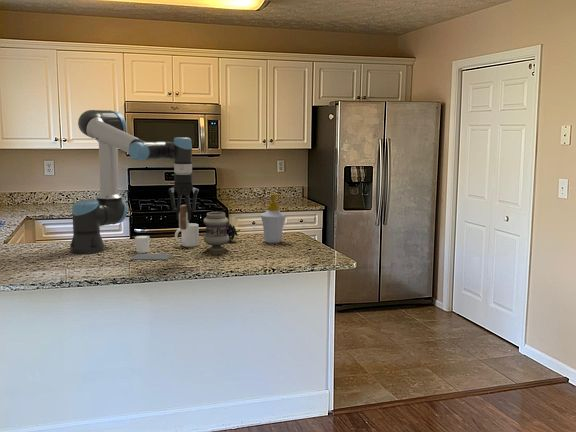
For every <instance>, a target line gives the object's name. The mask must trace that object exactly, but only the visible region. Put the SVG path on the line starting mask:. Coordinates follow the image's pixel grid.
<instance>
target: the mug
mask: <svg viewBox="0 0 576 432" xmlns="http://www.w3.org/2000/svg"><path fill="white" fill-rule="evenodd" d="M180 232H181V236H180V237H181V240H180V239H179V238H178V235H179V233H180ZM199 235H200V234H199V224H198V223H192V222H191V223H190V222H189V227H188V228H186V229H185V230H184V229H180V228H179V227H178V229H177V230H176V231H175V232H174V239H175V241H176V242H177V243H179V244H181V246H182V247H187V248H193V247H198V246H199V245H200V241H199V239H200V237H199Z"/></svg>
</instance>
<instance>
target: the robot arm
mask: <svg viewBox="0 0 576 432" xmlns="http://www.w3.org/2000/svg"><path fill="white" fill-rule="evenodd" d="M77 126H78V129H79V131H80V132H81V133H82V134H83V135H85V136H87V137H88V138H90V139H95V140H96V141H97V143H98V162H99V163H98V166H99V167H98V168H99V172H98V173H99V194H98V195H97V196H96V199H95V198H94V199H93V198H88V199H82V200H78V201H76V202H74V203H73V205H72V206H71V207H72V208H71V215H72V231H73V232H72V239H71V242H70V246H69V252H70V253H72V254H81V255H84V254H86V255H87V254H94V253H95V254H96V253H100V252H103V251H105V243H104V241H103V239H102V235H101V231H100V230H101V228H100V227H102V226H109V225H116V224H118V223H119V224H120V223H122V222H123V221H124V220H125V219H126V218H127V214H128V206H127V204H126V201H125V200H124V199H123V197H122V195H121V194H120V192H119V187H120V186H119V150H121V151H123V152H125V153H127V154H129V157H131V159H132V160H134V161H140V162H141V161H151V160H153V161H154V160H173V167H174V168H173V170H174V177H173V178H174V184H173V186H172V187H171V188H168V189H167V192H168V193H169V198H170V204H171V211H172V212H174V213H176V220H177V221H178V229H179V228H180V206H181V205H182V197H183V196H184V197H185V203H186V204H185V205H187V213H186V228H188V227H189V223H190V221H191V220H192V213H193V212H195V211H196V207H197V206H196V205H197V197H198V194H199V191H200V190H199V188H196V187H194V185H193V174H192V173H193V164H192V163H193V153H192V152H193V145H192V139H191V138H190V137H174V138H173V141H163V140H159V141H144V140H143V139H140V138H138V137H136V136H134V135H132V134H130V133H128V132H126V131H127V122H126V120H125V117H124V116H123V115H122V113H121V112H119V111H116V110H107V109H106V110H102V109H89V110H86V111H84V112H82V113H81V114H80V116H79V117H78V121H77ZM175 192H176V194H177V200H175V194H174V193H175ZM192 192H193V196H192V202H191V201H190V193H192ZM176 201H177V202H176ZM191 203H192V204H191Z"/></svg>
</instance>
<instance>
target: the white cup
mask: <svg viewBox="0 0 576 432" xmlns="http://www.w3.org/2000/svg"><path fill="white" fill-rule="evenodd" d="M150 239H151V238H150V235H137V236H134V242H135V250H136V253H137V254H146V253H149V252H150ZM145 252H146V253H145Z"/></svg>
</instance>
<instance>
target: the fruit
mask: <svg viewBox="0 0 576 432" xmlns="http://www.w3.org/2000/svg"><path fill="white" fill-rule="evenodd" d="M226 231H227V235H228V236H229V238H230V239H229V241H228V242H227V243H230V241H234V238H235V237H239V235H238V232H240V231H241V229H237V230H236V227H235V225H232V224H231V223H228V224H227V225H226Z"/></svg>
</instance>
